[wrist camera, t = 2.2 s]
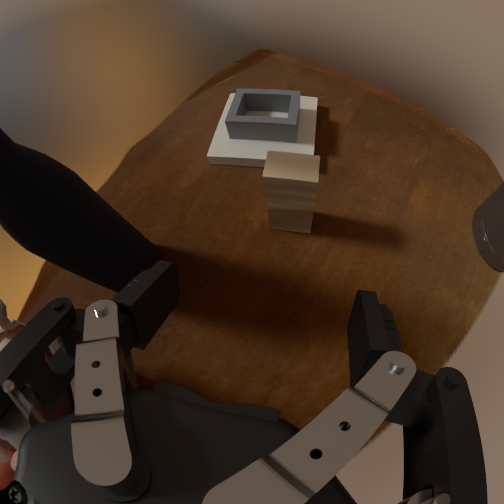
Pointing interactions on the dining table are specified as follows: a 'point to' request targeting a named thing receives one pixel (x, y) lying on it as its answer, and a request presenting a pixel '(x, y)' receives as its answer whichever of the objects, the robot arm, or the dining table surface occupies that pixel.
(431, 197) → the dining table surface
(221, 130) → the socket base
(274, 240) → the dining table surface
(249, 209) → the dining table surface
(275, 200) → the slat
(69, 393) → the bucket of meat
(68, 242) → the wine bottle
